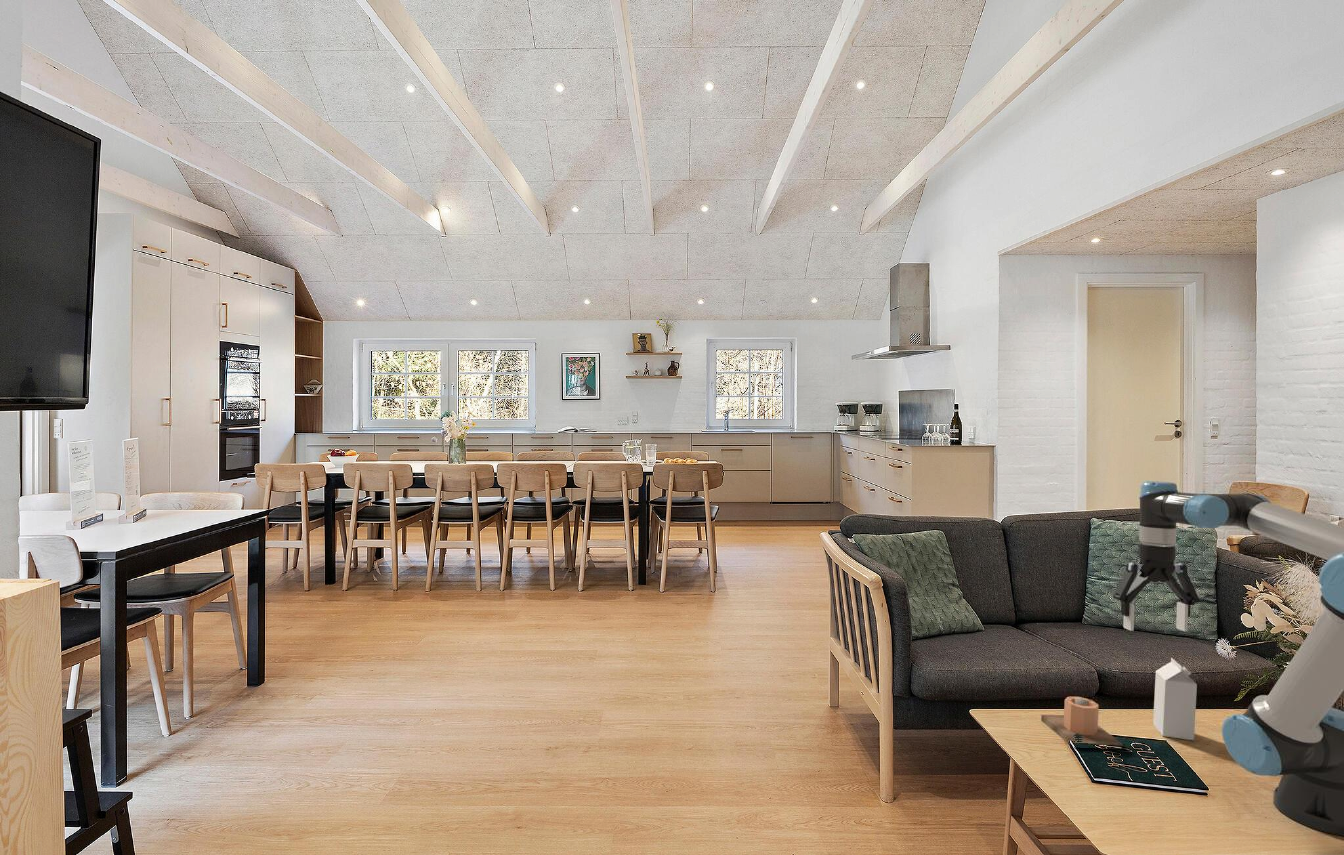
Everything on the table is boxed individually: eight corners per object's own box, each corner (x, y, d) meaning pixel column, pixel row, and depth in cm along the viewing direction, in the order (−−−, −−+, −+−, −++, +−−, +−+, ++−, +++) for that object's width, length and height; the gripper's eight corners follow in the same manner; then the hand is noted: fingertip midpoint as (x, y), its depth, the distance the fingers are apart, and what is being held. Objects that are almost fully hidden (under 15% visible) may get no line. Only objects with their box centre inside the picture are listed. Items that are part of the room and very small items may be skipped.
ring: (1102, 735, 183) (1103, 708, 182) (1074, 734, 183) (1075, 707, 182) (1085, 722, 190) (1087, 696, 190) (1059, 722, 190) (1060, 696, 190)
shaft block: (1122, 749, 178) (1124, 714, 178) (1074, 748, 178) (1076, 713, 178) (1084, 721, 194) (1086, 688, 194) (1041, 720, 194) (1042, 687, 194)
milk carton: (1162, 736, 186) (1166, 665, 186) (1152, 725, 193) (1156, 656, 192) (1194, 741, 184) (1197, 668, 183) (1183, 729, 191) (1186, 659, 190)
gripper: (1194, 542, 180) (1192, 625, 180) (1098, 540, 179) (1096, 624, 179) (1218, 547, 173) (1216, 634, 173) (1118, 545, 172) (1116, 633, 172)
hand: (1155, 629), depth 176 cm, fingers open, 13 cm apart
